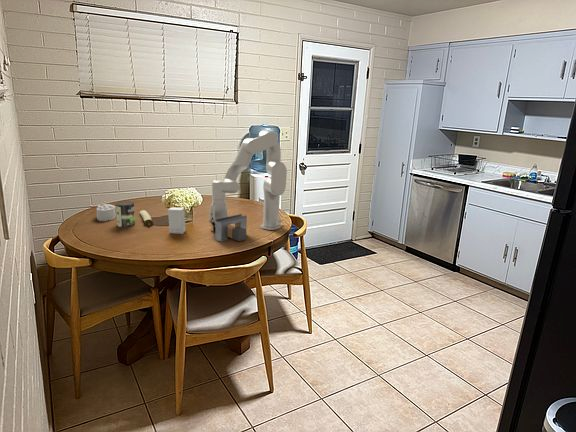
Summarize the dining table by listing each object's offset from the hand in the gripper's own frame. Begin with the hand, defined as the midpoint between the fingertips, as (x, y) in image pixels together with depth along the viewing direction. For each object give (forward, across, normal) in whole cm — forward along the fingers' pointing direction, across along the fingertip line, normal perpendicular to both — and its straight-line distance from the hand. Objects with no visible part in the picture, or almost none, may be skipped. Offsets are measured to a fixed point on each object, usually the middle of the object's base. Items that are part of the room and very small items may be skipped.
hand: (218, 230), depth 234 cm
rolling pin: (+2, +20, -47) cm, 51 cm away
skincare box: (+1, +18, -16) cm, 24 cm away
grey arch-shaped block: (+1, 0, +11) cm, 11 cm away
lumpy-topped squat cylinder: (+1, +36, -69) cm, 77 cm away
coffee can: (+1, +34, -46) cm, 57 cm away
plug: (0, 0, +8) cm, 8 cm away
